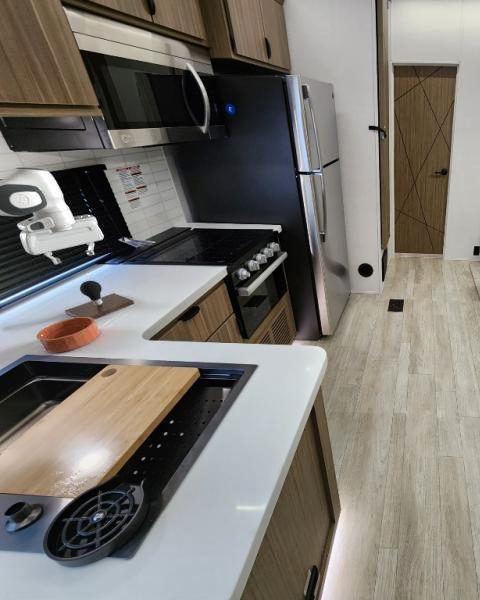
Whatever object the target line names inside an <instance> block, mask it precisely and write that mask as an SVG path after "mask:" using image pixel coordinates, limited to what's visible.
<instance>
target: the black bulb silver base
mask: <svg viewBox="0 0 480 600" xmlns="http://www.w3.org/2000/svg"><path fill="white" fill-rule="evenodd" d="M102 289H103V288H102V285H101V284H100V283H99V282H98V281H95V280H86V281H83V282H82V283H81V284H80V286H79V291H80V293H81V294H82V295H84V296H86V297H87V298H89V299H90V301H93V303H94V305H98V306H100V305H101V304H102V300H101V297H102V296H101V292H102V291H103V290H102Z"/></svg>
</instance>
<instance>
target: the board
mask: <svg viewBox="0 0 480 600" xmlns="http://www.w3.org/2000/svg"><path fill="white" fill-rule="evenodd" d="M101 300H102V304H101V305H100V306H98V305H94V303H93V301H92V300H90V301H88V302H85V303H81V304H79V305H76V306H73V307H71V308H68V309H65V310H64V312H65V314H66V315H68V316H69V317H71V318H77V317H91V318H93V319H94V320H97V319H99V318H102V317H104V316H107V315H109V314H111V313H114V312H116V311H120V310H122V309H125V308H127V307H129V306H131V305H134V304H135V302H134V300H133V299H130V298H128V297H125V296H123V295H120V294H117V293H115V292H112V293H110V294H107V295H104V296H101Z"/></svg>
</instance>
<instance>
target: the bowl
mask: <svg viewBox="0 0 480 600" xmlns="http://www.w3.org/2000/svg"><path fill="white" fill-rule="evenodd" d="M100 334H101V330H100V328H99V326H98V324H97V322H96V319H93V318H91V317H77V318H73V317H71V318H67V319H64V320H60V321H58V322H55V323H52V324H50V325H48V326H46V327H45V328H42V329H41V330H40V331H38V333H37V334H36V340H37V341H38V342H39V344H40V346H41V347H42V349H43V351H45V352H47V353H62V352H68V351H71V350H75V349H78V348H81V347H83V346H85V345H88V344H90V343H91V342H92V341H95V340H96V339H97V338H98V337H99V336H100Z"/></svg>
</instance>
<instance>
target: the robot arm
mask: <svg viewBox="0 0 480 600" xmlns="http://www.w3.org/2000/svg"><path fill="white" fill-rule="evenodd" d="M30 214H32V215H33V216H31V217H29V218H27V219H25V220H22V221H20V222H18V223H17V224H16V226H17V228H18V229H19V230H20V231H21V232H20V233H19V238H20V242H21V245H22V247H23V248H24V250H25V252H26V253H27V254H29V255H33V256H39V255H42V254H43V256H45V257H47V258H49V259H50V260H51V261H52V262H53V264H54V265H59V264H62V261H61V259H60V258H59V257H54V256H52V255H53V252H54V251H55V252H56V251H59V250H63V249H68V248H72V247H76V246H81V245H85V244H86V245H87V246H88V248H87V249H86V250H85V253H86V254H87V256H94V255H95V252H94V248H95V242H98V241H102V240H103V239H104V237H105V236H104V233H103V232H102V230H101V228H100V227H99V224H98V220H97V218H96V217H95V216H94V215H92V214H82V215H75V216H74V215H73V213H72V211H71V209H70V207H69V206H68V204H66V202H65V198H64V193H63V191H62V190H61V187H60V186H59V184H58V182H57V180H56V179H55V177H54V176H53V174H52V173H51V172H49V170H46V169H44V168H37V167H15V168H13V171H12V172H11V173H10V174H9V175H7V176H5V177H3V179H0V216H4V217H24V216H27V215H30Z"/></svg>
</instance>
